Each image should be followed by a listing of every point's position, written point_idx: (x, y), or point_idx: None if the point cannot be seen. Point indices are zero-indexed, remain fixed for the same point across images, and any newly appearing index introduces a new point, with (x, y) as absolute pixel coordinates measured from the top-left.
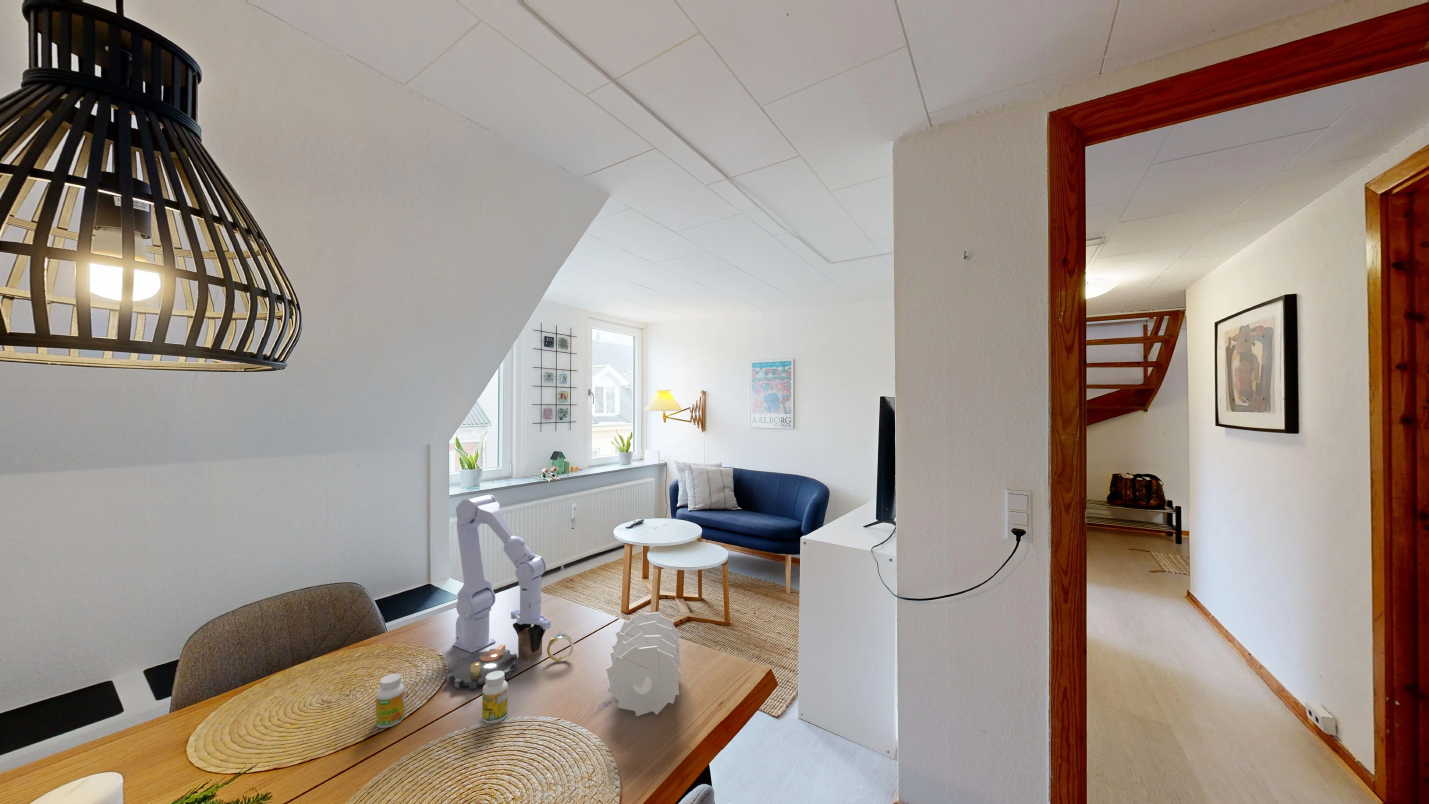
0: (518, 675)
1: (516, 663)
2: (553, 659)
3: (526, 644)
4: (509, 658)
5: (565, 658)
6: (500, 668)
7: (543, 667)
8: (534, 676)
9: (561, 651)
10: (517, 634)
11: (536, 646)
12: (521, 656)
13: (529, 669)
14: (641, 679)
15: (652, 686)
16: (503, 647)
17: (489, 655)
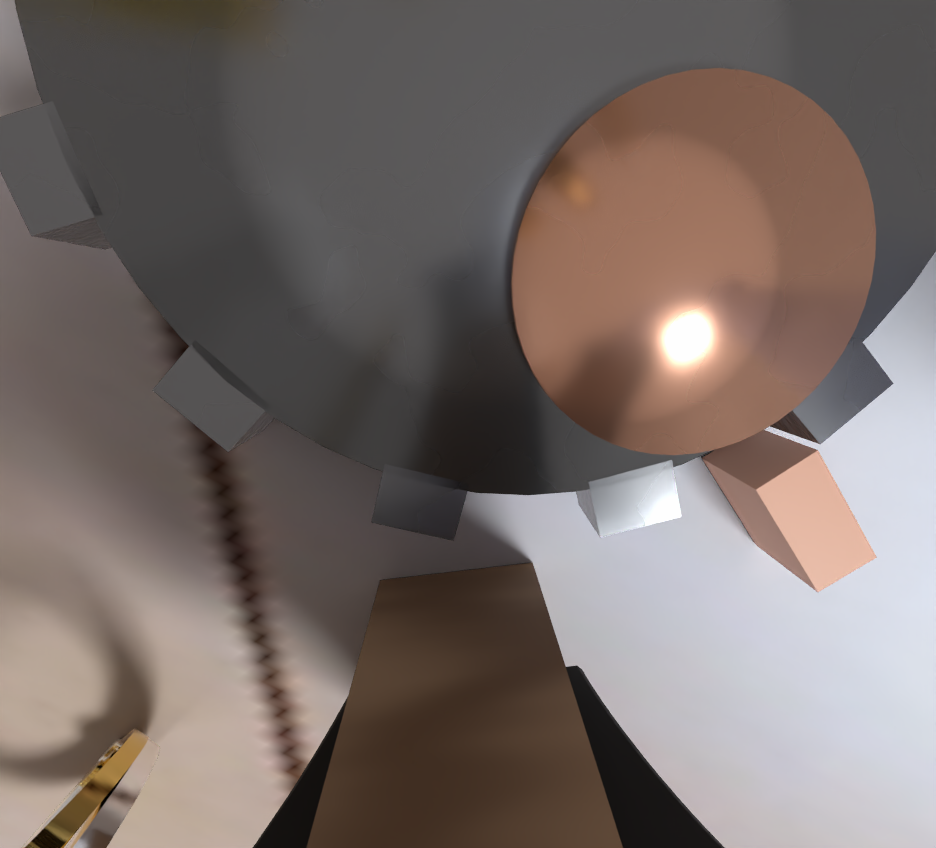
0: (160, 359)
1: (159, 394)
2: (129, 734)
3: (370, 738)
4: (387, 412)
5: (57, 806)
6: (189, 140)
7: (130, 605)
8: (12, 456)
9: None
10: (705, 835)
11: None
12: (480, 581)
13: (197, 501)
14: None
15: None
16: (784, 545)
17: (716, 253)
